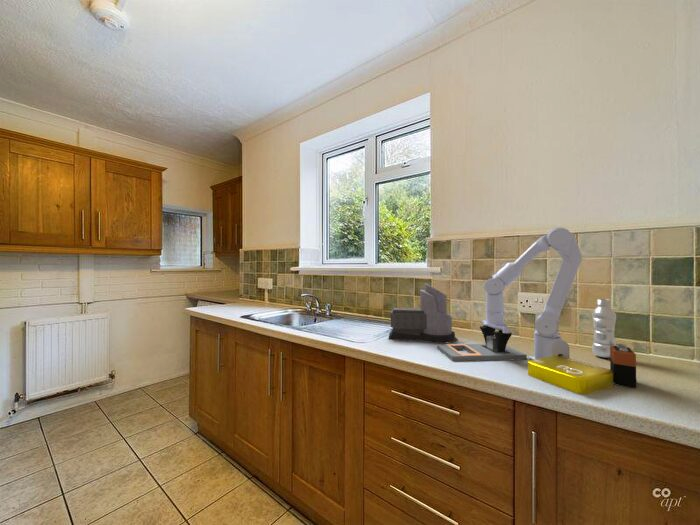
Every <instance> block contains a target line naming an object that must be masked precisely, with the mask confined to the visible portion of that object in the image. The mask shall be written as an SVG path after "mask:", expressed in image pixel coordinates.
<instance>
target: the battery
mask: <svg viewBox="0 0 700 525" xmlns="http://www.w3.org/2000/svg"><path fill="white" fill-rule="evenodd" d="M615 345H616V346H610V358H609V360H610V361H609V362H610V364H609V365H610V369H609V370H612V371H613V383H614V385H616V386H619V387H626V388H631V389H636V388H637V356H636V355H637V354H636V353H635V352H634V351H633V349H632V348H631V347H628V346H627V344H624V343H615Z"/></svg>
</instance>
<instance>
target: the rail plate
mask: <svg viewBox="0 0 700 525" xmlns="http://www.w3.org/2000/svg"><path fill="white" fill-rule="evenodd" d="M436 349H437V350H438V351H439V350H440V353H442V354H443V355H444V354H445V357H446V358H448V359H449V358H450V359H449V360H451V361H452V362H458V361H459V362H462V361H469V362H470V361H499V360H501V361H504V360H512V361H513V360H527V359H528V356H527V354H526V353H524V352H522V351H519V350H517V349H515V348H513V347H510V346H508V345H506V348H505V352H504V353H498V354H496V353H494V352H492V351H490V350H488V349H487V345H486V343H470V344H469V343H445V344H436ZM458 350H459V351H458ZM463 350H464V351H466V352H467V353H461V352H460V351H463Z"/></svg>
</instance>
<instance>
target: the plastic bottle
mask: <svg viewBox="0 0 700 525" xmlns="http://www.w3.org/2000/svg"><path fill="white" fill-rule="evenodd" d="M611 303H612V302H611V299H608V298H607V299H604V298H597V299H596V305H597V306H596V307H595V308H594V310H592V313H591V317H592V324H593V342H592V345H591V346H592V347H591V350H592V353H593V355H595V356H597V357H601V358H604V359H610V346H617V345H616V340H615V328H616V323H617V314H616V312H615V311H614V309H613V308H612V307H611V306H612V304H611Z"/></svg>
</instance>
